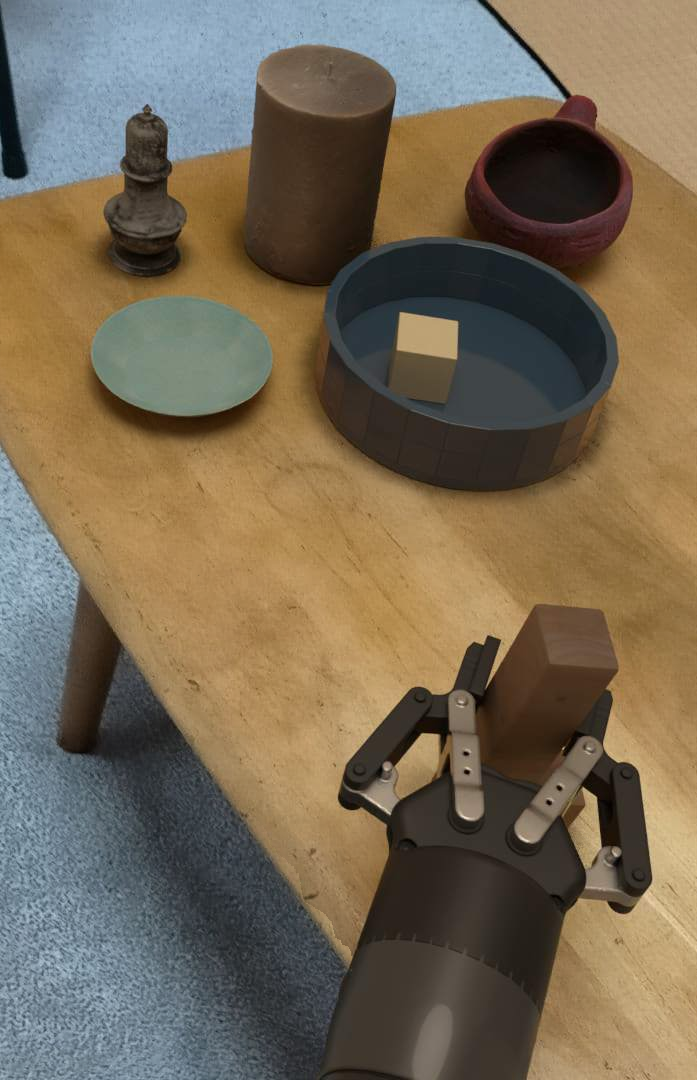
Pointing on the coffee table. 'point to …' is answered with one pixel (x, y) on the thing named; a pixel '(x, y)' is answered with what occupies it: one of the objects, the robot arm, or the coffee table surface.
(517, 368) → the bowl
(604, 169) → the bowl
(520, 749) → the wooden block
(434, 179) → the coffee table surface
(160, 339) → the saucer
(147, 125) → the salt shaker
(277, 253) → the pillar candle
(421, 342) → the cube
